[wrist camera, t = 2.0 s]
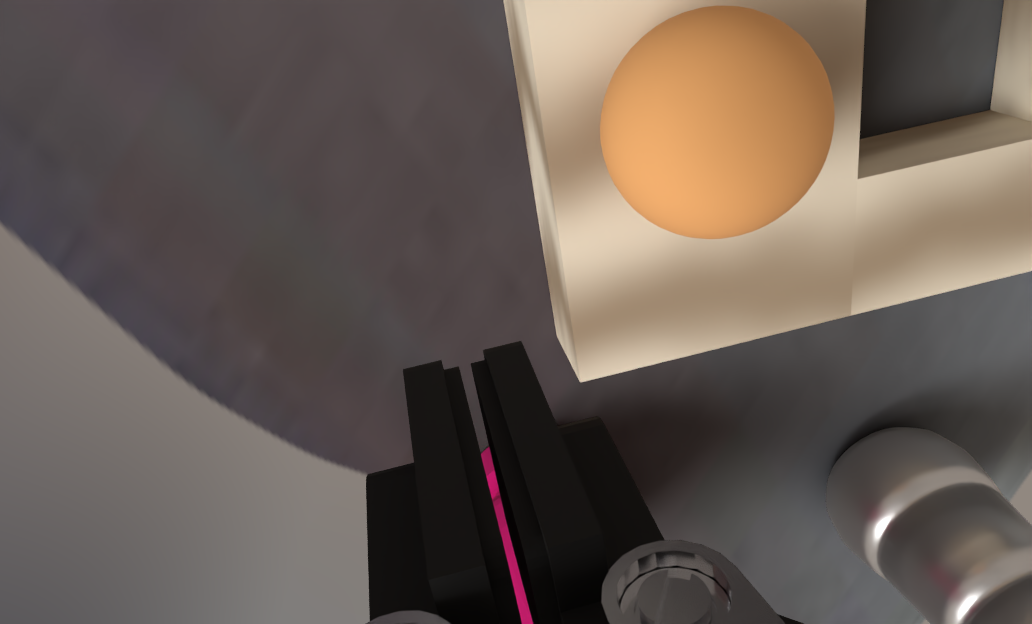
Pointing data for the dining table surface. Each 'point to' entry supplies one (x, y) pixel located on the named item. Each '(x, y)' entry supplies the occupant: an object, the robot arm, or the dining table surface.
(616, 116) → the ball
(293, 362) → the dining table surface
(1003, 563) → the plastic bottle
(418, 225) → the dining table surface
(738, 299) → the hole board
